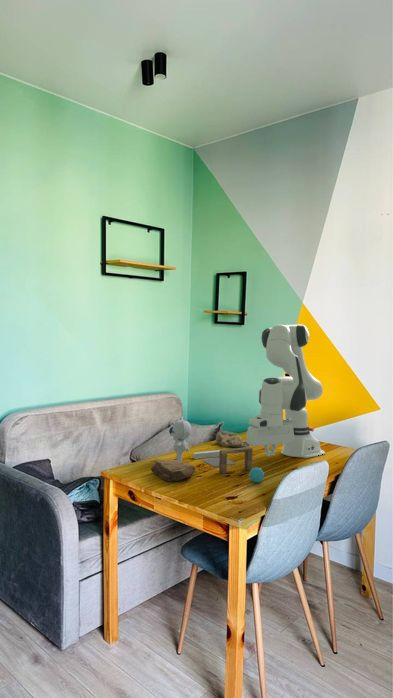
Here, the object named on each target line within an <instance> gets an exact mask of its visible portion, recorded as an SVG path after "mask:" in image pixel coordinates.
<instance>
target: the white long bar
mask: <svg viewBox="0 0 393 698" xmlns="http://www.w3.org/2000/svg"><path fill="white" fill-rule="evenodd" d="M220 450H221V449H217V450H206V451H205V450H204V451H197V452H196V451H195V452H192V458H193V459H194V460H202V459H211V458H219V453H220Z"/></svg>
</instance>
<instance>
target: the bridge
mask: <svg viewBox="0 0 393 698" xmlns="http://www.w3.org/2000/svg"><path fill="white" fill-rule="evenodd" d="M219 450H220V453H219V457H218V458H219V466H218V468H219V469H218V472H219V473H220V474H222V475H225V474H227V472H228V471H227V469H228V468H227V466H228V465H227V459H228V455H230V454H241V453H244V470H246V471H248V472H250V471H251V469H253V448H252V447H251V446H250V447H244V448H240V447H234V448H227V449H219ZM249 470H250V471H249Z"/></svg>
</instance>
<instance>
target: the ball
mask: <svg viewBox="0 0 393 698" xmlns="http://www.w3.org/2000/svg"><path fill="white" fill-rule="evenodd" d="M248 476H249V479H250V481H252V482H253V483H260V482H262V481H263V480H264V478H265V473H264V471H263V469H262V468H261V467H252V469H251V470H250V471H249V473H248Z"/></svg>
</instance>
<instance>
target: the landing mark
mask: <svg viewBox="0 0 393 698" xmlns="http://www.w3.org/2000/svg"><path fill="white" fill-rule="evenodd" d="M201 461H202V462H204V463H206V464H208V465H209V466H212V467H213V468H215V467H219V457H212V458H203V459H201ZM231 465H237V463H236V462H234V461H232V460H230V459H228V458H227V466H231Z"/></svg>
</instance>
